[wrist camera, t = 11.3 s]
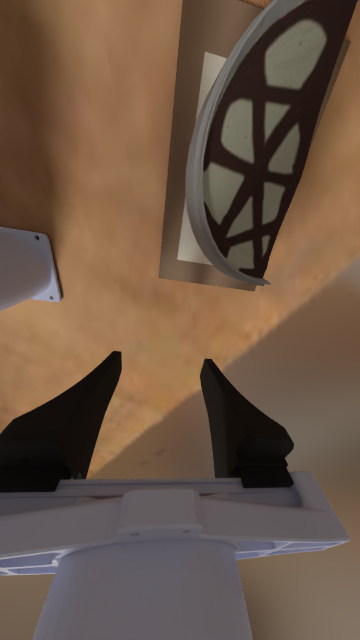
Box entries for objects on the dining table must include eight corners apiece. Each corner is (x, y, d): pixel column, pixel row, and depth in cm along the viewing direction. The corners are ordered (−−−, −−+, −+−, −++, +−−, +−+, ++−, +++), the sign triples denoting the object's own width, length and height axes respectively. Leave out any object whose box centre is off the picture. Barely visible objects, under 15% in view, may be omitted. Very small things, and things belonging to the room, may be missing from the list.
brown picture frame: (159, 276, 20) (158, 278, 20) (183, -8, 11) (184, -20, 10) (252, 289, 22) (254, 291, 21) (342, 49, 12) (350, 41, 12)
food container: (186, 109, 13) (217, -158, 4) (255, 122, 14) (410, -90, 5) (174, 263, 19) (177, 285, 10) (223, 267, 19) (267, 292, 11)
